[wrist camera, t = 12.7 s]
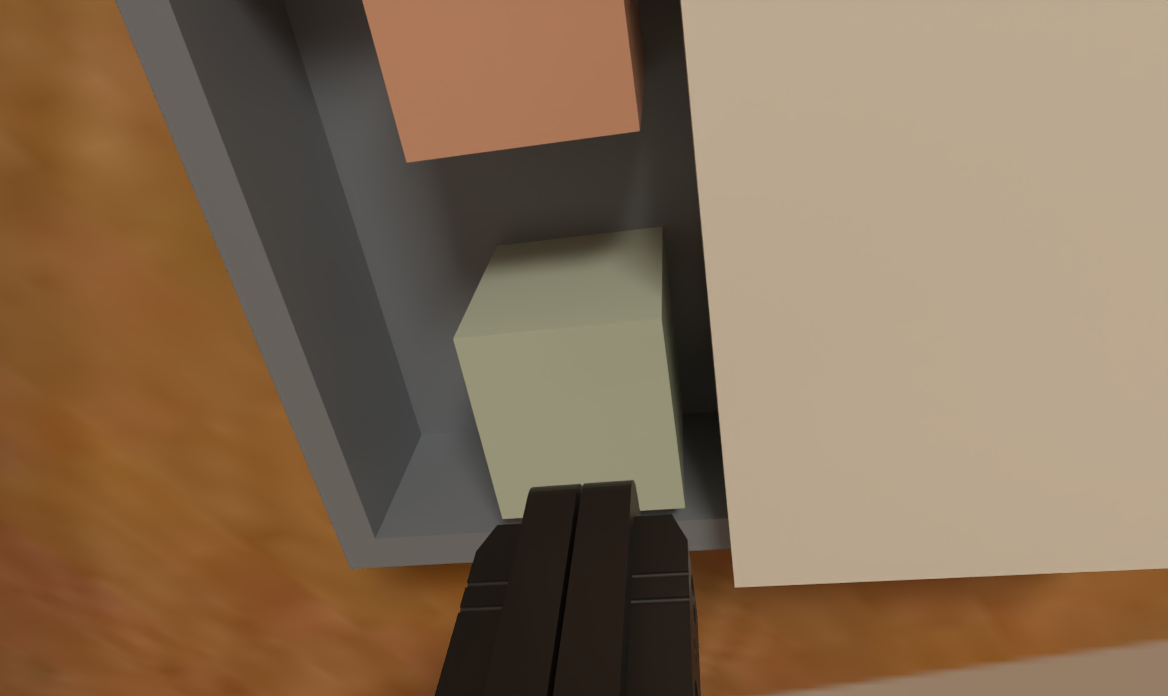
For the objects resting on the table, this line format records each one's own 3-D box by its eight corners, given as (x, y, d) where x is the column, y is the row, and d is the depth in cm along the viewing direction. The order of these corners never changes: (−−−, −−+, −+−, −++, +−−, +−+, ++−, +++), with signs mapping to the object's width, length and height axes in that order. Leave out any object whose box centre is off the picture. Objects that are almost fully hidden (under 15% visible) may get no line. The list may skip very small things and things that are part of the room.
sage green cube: (661, 318, 13) (452, 339, 13) (685, 508, 15) (502, 519, 15) (662, 226, 16) (496, 245, 17) (681, 389, 18) (532, 402, 19)
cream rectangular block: (1388, -466, 11) (1870, -701, 6) (1177, 394, 18) (1343, 559, 13) (651, -304, 12) (643, -404, 8) (719, 429, 19) (734, 587, 15)
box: (651, -304, 12) (645, -378, 9) (719, 429, 19) (731, 548, 16) (184, -200, 14) (20, -229, 10) (404, 453, 20) (350, 568, 17)
